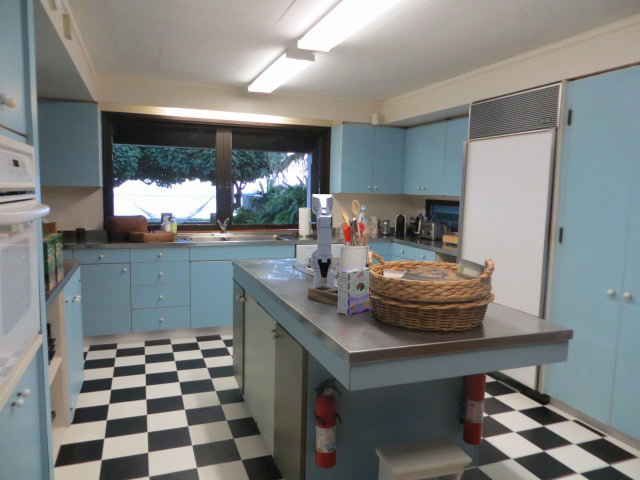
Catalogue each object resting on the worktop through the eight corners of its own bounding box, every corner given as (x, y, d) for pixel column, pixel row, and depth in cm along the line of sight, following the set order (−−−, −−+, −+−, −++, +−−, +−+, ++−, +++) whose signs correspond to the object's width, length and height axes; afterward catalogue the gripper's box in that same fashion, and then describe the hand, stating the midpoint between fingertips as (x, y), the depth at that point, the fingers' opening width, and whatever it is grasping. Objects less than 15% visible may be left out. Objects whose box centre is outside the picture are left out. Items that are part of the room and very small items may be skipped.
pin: (323, 281, 194) (323, 262, 193) (328, 282, 192) (328, 263, 191) (318, 282, 192) (318, 263, 191) (323, 283, 190) (323, 264, 189)
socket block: (322, 294, 203) (322, 285, 202) (350, 301, 192) (350, 291, 191) (308, 298, 196) (308, 288, 196) (335, 305, 185) (335, 295, 185)
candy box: (360, 306, 184) (361, 265, 182) (371, 309, 179) (372, 267, 178) (336, 313, 174) (337, 270, 172) (348, 316, 170) (348, 272, 168)
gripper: (314, 242, 198) (314, 273, 199) (314, 246, 183) (314, 280, 185) (331, 242, 198) (330, 273, 199) (332, 246, 183) (331, 280, 185)
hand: (323, 276), depth 192 cm, fingers closed on pin, 3 cm apart
